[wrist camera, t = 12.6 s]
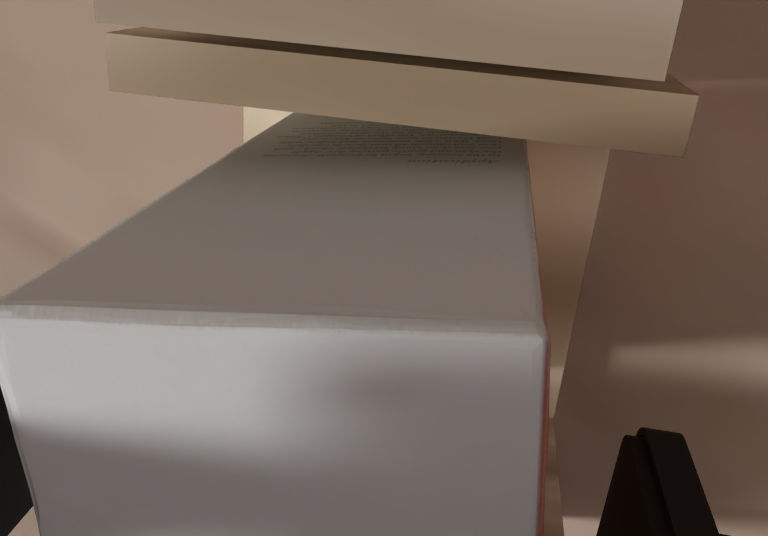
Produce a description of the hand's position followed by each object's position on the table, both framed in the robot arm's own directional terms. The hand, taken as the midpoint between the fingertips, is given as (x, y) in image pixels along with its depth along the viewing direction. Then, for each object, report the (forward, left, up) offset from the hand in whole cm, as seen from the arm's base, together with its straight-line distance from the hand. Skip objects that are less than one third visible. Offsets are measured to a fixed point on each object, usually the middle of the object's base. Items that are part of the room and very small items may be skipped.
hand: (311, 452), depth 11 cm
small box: (0, 0, -11) cm, 11 cm away
